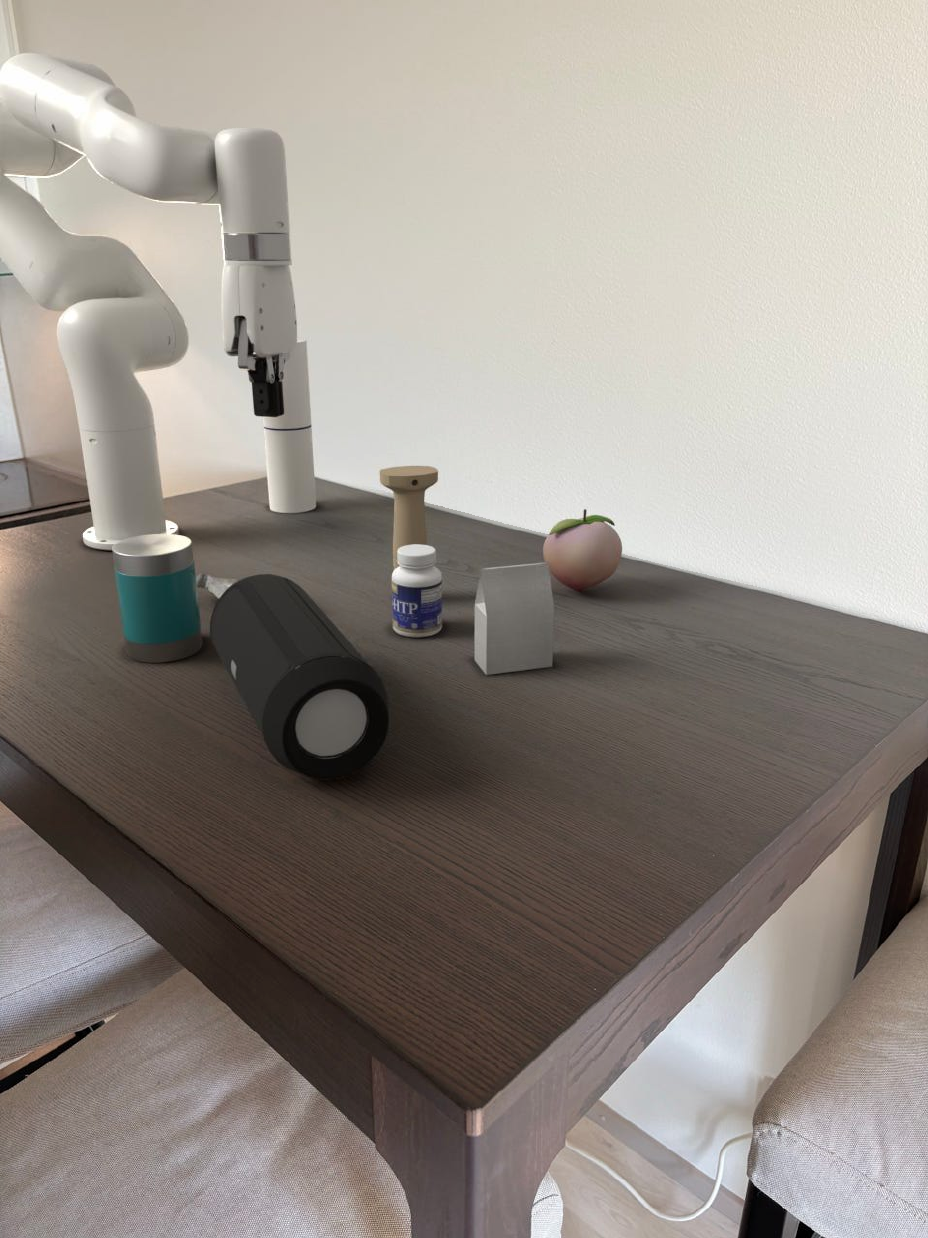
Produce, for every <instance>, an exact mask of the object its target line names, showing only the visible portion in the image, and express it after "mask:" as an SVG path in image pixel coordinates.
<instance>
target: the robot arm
mask: <svg viewBox="0 0 928 1238" xmlns="http://www.w3.org/2000/svg"><path fill="white" fill-rule="evenodd" d="M0 100H1V102H0V259H1V260H2V262H3V263H4V264H5V266H6V267H7V268H8V269H9V271H10V272H11V274H12V275H13V276H14V277H15V278H16V280H17V281H18V283H19V284H20V285H21V286H22V288H23V289H24V290H25V291H26V292H27V295H29V296H30V297H31V299H32V300H33V301H34V302H35V303H36V304H38V305H39V306H40V307H41V308H43V309H45V310H48V311H52V312H62V314H61V315H60V317H59V319H58V322H57V326H56V340H57V345H58V350H59V352H60V356H61V359H62V361H63V364H64V367H65V370H66V373H67V376H68V379H69V382H70V387H71V391H72V395H73V400H74V405H75V413H76V419H77V424H78V429H79V436H80V443H81V449H82V450H81V451H82V457H83V463H84V470H85V476H86V478H85V479H86V484H87V490H88V497H89V498H88V499H89V504H90V510H91V511H90V512H91V519H92V525H93V526H91V527H89V528H87V529H86V530H85V531H84V532H83V533H82V541H83V543H84V545H86V546H87V547H89V548H91V549H96V550H100V551H112V547H113V546H114V545H115V544H116V543H118V542H120V541H122V540H125V539H128V538H131V537H136V536H141V535H149V534H175V535H180V532H179V526H178V524H177V523H174V522H173V521H171V520H167V519H166V511H165V503H164V494H163V486H162V477H161V470H160V460H159V451H158V443H157V437H156V436H157V435H156V429H155V427H156V426H155V420H154V412H153V407H152V404H151V401H150V398H149V396H148V394H147V393H146V391H145V389H144V388H143V386H142V385H141V383H140V381H139V380H138V378H137V377H136V375H135V374H137V373H141V372H148V371H154V370H162V369H166V368H171V367H173V366H174V365H176V364H178V363H180V361H181V360H183V359H184V357H185V356H186V354H187V352H188V350H189V345H190V343H189V342H190V336H189V335H190V334H189V330H188V326H187V323H186V320H185V318H184V316H183V314H182V312H181V311H180V308H179V307H178V306H177V304H176V303H175V302H174V301H173V299H172V298H171V297H170V295H169V294H168V292H167V291H166V290H165V289H164V288H163V287H162V285H161V284H160V283H159V280H157V279H156V277H155V276H154V275H153V274H152V272H151V271H150V270H149V268H148V267H147V266H146V265H145V264H144V262H143V261H142V260H141V258H140V257H139V256H138V255H137V254H136V252H134V251H133V249H131V248H130V247H129V246H128V245H127V244H125V243H124V242H122V241H121V240H119V239H117V238H114V237H112V236H107V235H103V234H102V235H101V234H79V233H73V232H69V231H67V230H65V229H64V228H63V227H61V225H60V224H58V222H57V221H56V220H55V219H54V218H53V216H51V214H50V213H49V212H48V210H47V209H46V207H45V206H44V204H43V203H41V202H40V201H39V200H38V199H37V198H36V196H34V195H33V194H32V193H31V192H29V191H28V190H26V189H25V188H24V187H22V186H21V185H19V184H18V183H16V182H15V181H13V180H12V179H10V178H9V176H12V177H27V178H39V179H40V178H41V179H42V178H51V177H55V176H59V175H61V174H62V173H64V172H66V171H67V170H68V169H71V167H73V166H74V165H75V164H76V163H77V162H79V161H80V160H81V159H83V158H84V157H85V158H86V160H87V161H88V163H89V164H90V166H91V167H92V169H93V170H94V171H95V172H96V173H97V175H99V176H100V177H101V178H103V179H104V180H106V181H108V182H110V183H111V184H114V185H116V186H118V187H120V188H123V189H124V190H127V191H129V192H131V193H133V194H134V195H137V196H140V197H141V198H144V199H146V200H147V199H148V200H151V201H155V202H161V203H179V204H181V203H182V204H195V205H212V206H216V205H217V206H218V207H219V216H220V228H221V239H222V240H221V241H222V251H223V267H222V275H221V327H222V329H221V331H222V343H223V350H224V352H225V354H226V355H227V356H229V357H237V367H238V368H239V369H240V370H244V371H247V374H248V380H249V383H251V390H252V391H251V392H252V403H253V404H252V405H253V406H252V407H253V414H254V416H256V417H262V418H263V417H278V416H281V415H283V414H284V400H283V385H282V380H283V379H284V364H285V363H286V362H287V361H288V360H290V358H291V353H290V351H291V350H293V349H294V348H295V346H296V345H297V339H298V321H297V311H296V300H295V293H294V286H293V280H292V273H291V267H290V266H292V265H293V260H292V244H291V243H292V242H291V234H290V233H291V227H290V211H289V210H290V208H289V195H288V179H287V178H288V176H287V161H286V148H285V143H284V140H283V138H282V137H281V135H280V134H279V133H278V132H276V131H274V130H272V129H267V128H260V127H232V128H226V129H223V130H220V131H219V132H218V133H215V132H210V131H209V132H208V131H201V130H196V129H190V128H183V127H176V126H168V125H160V124H156V123H152V122H149V121H146V120H144V119H141V118H139V117H137V114H136V109H135V107H134V105H133V102H132V101H131V99H130V97H129V96H128V94H126V93H125V91H123V90H122V89H121V88H119V87H118V86H116V84H115V82H114V81H113V80H112V78H111V77H110V76H109V74H107V72H106V71H104V70H103V69H102V68H100V67H98V66H97V65H94V64H92V63H89V62H86V61H80V60H75V59H70V58H66V57H61V56H56V55H51V54H47V53H38V52H22V53H19V54H15V55H14V56H12V57H10V58H9V59H7V60H6V61H5V62H4V64H2V66H1V68H0Z"/></svg>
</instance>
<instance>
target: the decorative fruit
mask: <svg viewBox="0 0 928 1238" xmlns="http://www.w3.org/2000/svg"><path fill="white" fill-rule="evenodd" d="M587 512H588V511H587V509H583V517H580V518H566V519H563V520H560V521H558V522H557V523H556V524H555V525H554V526H553V527H552V528H551V529H550V531H549V533H548V535H547V537H546V539H545V540H544V542H543V547H542V552H543V553H542V554H543V560H544V563H545V562H548V563H549V572H550V574H551V575H552V576H553V577H554V578H555V579H556V580H557V581H558V582H559V583H561V584H562V585H564V586H565V587H567V588H569V589H571V590H573V591H575V592H579V593H583V592H584V590H587V589H589V588H591V587H594V586H597V585H598V584H601V583H603V582H604V581H606V580H608V579H609V578H611V577H612V576H613V575H614V574H615V572H616V570H617V569H618V567H619V565H620V562H621V560H622V556H623V555H622V554H623V542H622V540H621V537H620V535H619V534H618V532H617V531H616V530H615V529H614V528H613V527H612V526H614V527H615V526H616V525H615V522H614V521H613V520H612V519H611V518H609V517H607V516H604V515H598V514H591V515H588V516H587Z"/></svg>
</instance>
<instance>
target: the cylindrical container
mask: <svg viewBox="0 0 928 1238" xmlns="http://www.w3.org/2000/svg"><path fill="white" fill-rule="evenodd" d="M290 353H291V358H290V360H288V361H287V362H286V363H285V364H284V379H283V380H282V385H283V400H284V414H283V415H281V416H278V417H262V424H263V425H262V426H263V437H264V438H263V439H264V450H265V451H264V452H265V464H266V477H267V490H268V503H269V510H270V511H271V512H275V513H279V514H299V513H305V512H309V511H310V512H311V511H312V510H314V509H316V508H317V499H316V495H317V494H316V479H315V478H316V477H315V461H314V460H315V459H314V448H313V447H314V446H313V444H314V443H313V427H312V411H311V410H312V409H311V393H310V378H309V377H310V376H309V361H308V343H307V339H304V338H297V345H296V346H295V348H294V349H293V350H291V351H290Z"/></svg>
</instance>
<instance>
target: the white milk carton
mask: <svg viewBox="0 0 928 1238" xmlns="http://www.w3.org/2000/svg"><path fill="white" fill-rule="evenodd" d="M478 578H479V579H478V585H477V590H476V596H475V601H474V662H475V663H476V664H477V666H479V669H480V670H481V671H482V672H483V674H485V676H490V675H497V674H503V673H504V674H505V673H506V674H507V673H512V672H520V671H521V672H523V671H528V670H536V669H545V668H553V656H554V655H553V654H554V633H555V632H554V628H555V605H554V603H555V602H554V597H553V590H552V582H551V581H552V580H551V572H550V570H549V563H548V562H545V561H544V562H535V563H524V564H515V565H504V566H494V567H484V568H479V577H478Z"/></svg>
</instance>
